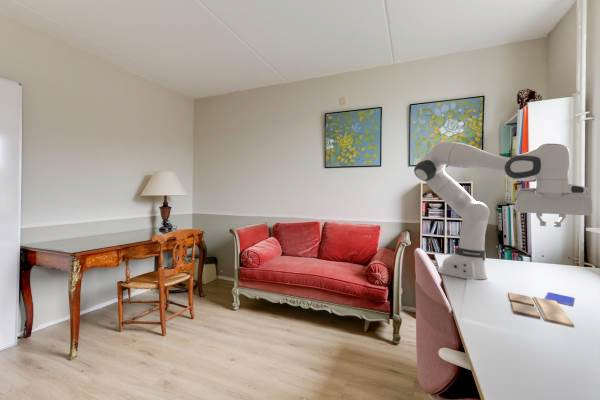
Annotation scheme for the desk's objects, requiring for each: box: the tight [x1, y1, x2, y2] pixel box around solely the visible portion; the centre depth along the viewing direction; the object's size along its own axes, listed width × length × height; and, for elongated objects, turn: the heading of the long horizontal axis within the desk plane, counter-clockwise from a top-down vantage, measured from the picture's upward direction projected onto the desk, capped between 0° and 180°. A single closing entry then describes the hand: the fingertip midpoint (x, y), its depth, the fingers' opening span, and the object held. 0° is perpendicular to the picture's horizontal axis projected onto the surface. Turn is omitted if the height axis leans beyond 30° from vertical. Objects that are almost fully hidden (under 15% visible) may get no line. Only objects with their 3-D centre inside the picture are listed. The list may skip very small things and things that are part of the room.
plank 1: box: [507, 291, 535, 307], centre depth 105 cm, size 7×10×1 cm
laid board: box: [532, 296, 575, 327], centre depth 95 cm, size 7×23×1 cm, turn 146°
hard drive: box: [544, 291, 576, 307], centre depth 107 cm, size 2×8×12 cm
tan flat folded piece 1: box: [510, 302, 541, 320], centre depth 95 cm, size 7×10×1 cm
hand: (549, 226), depth 96 cm, fingers open, 2 cm apart
